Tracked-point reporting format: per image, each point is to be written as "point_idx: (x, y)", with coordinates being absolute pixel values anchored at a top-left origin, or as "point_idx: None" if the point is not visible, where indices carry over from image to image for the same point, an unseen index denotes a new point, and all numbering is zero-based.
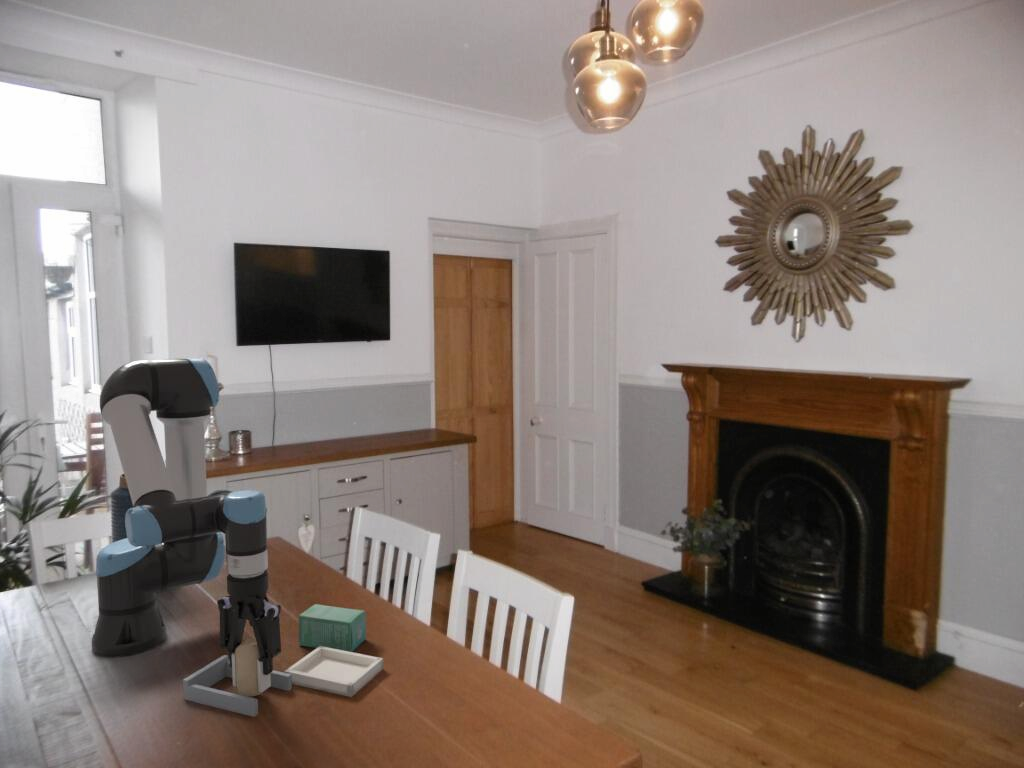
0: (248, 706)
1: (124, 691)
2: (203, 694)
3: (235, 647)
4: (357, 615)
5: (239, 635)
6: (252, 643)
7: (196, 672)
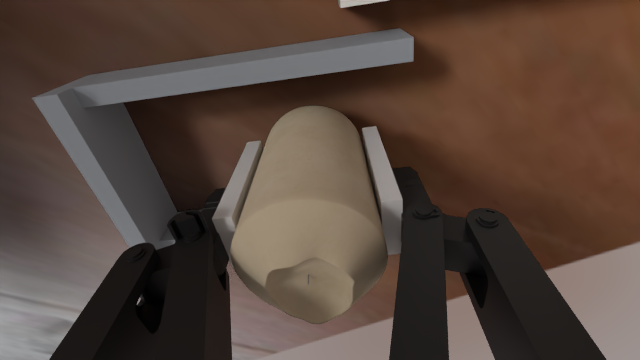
0: None
1: (21, 258)
2: None
3: (217, 266)
4: None
5: (219, 322)
6: (303, 262)
7: (121, 227)
